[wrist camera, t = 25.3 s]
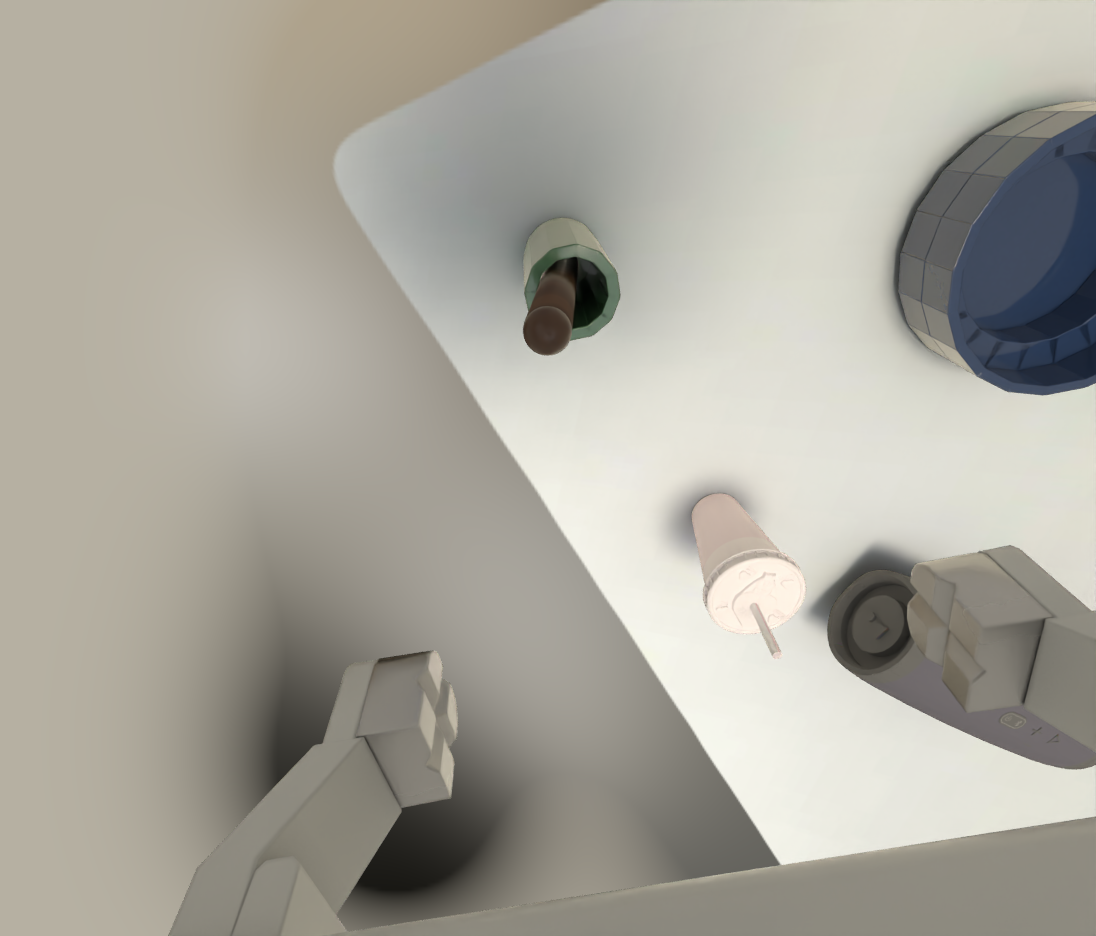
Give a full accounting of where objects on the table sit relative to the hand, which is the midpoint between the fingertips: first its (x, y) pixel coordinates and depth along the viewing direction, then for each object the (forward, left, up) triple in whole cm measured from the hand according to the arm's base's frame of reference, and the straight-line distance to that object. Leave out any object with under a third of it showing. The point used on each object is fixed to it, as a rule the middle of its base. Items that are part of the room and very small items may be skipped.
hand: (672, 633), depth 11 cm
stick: (0, 0, -32) cm, 32 cm away
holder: (0, 0, -32) cm, 32 cm away
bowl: (+5, +28, -32) cm, 43 cm away
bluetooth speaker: (+37, +26, -32) cm, 56 cm away
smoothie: (+21, +8, -32) cm, 40 cm away
